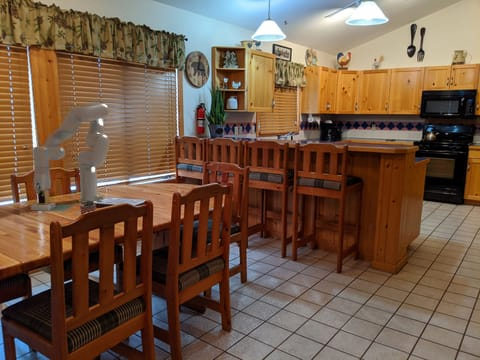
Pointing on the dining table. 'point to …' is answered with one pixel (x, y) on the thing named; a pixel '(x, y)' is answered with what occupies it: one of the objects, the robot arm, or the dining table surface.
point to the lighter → (87, 206)
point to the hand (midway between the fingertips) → (43, 201)
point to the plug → (46, 194)
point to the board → (50, 207)
